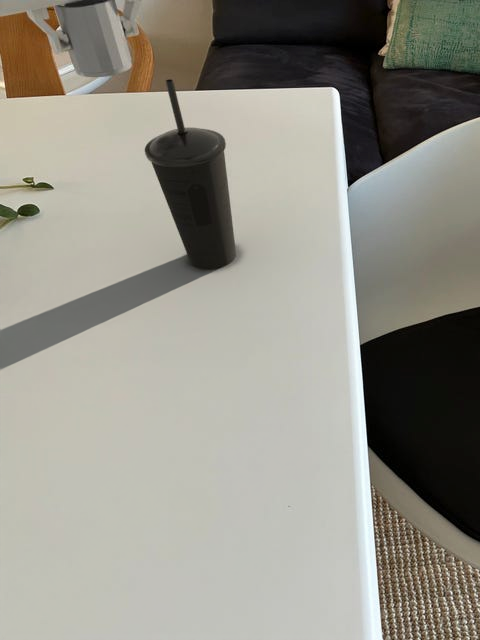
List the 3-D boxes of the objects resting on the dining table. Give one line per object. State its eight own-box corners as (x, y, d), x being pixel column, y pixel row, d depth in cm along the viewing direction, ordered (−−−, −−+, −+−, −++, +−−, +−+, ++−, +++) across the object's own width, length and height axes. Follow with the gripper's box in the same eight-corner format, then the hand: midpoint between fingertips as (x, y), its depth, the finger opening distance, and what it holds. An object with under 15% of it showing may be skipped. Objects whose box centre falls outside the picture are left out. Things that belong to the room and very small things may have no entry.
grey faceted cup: (69, 78, 82) (45, 8, 77) (82, 59, 86) (61, -9, 82) (126, 76, 82) (106, 6, 78) (137, 57, 87) (118, -10, 82)
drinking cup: (264, 252, 87) (228, 73, 74) (219, 287, 82) (172, 102, 69) (209, 236, 89) (165, 60, 76) (162, 269, 84) (107, 87, 71)
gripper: (-59, -86, 66) (4, 75, 75) (166, -116, 77) (198, 29, 86) (-80, -98, 70) (-17, 58, 79) (138, -124, 81) (172, 15, 90)
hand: (97, 42), depth 83 cm, fingers closed on grey faceted cup, 6 cm apart
